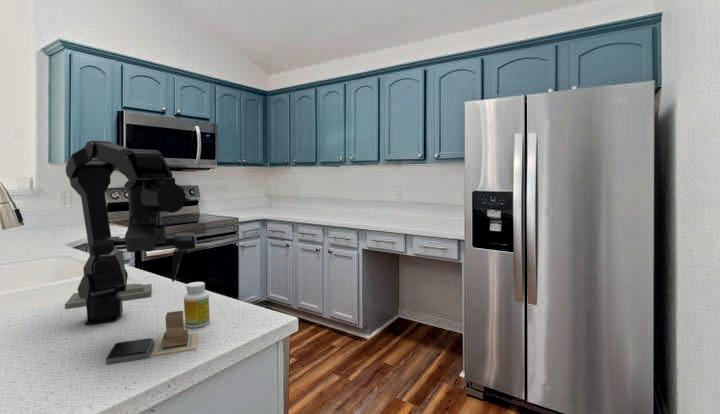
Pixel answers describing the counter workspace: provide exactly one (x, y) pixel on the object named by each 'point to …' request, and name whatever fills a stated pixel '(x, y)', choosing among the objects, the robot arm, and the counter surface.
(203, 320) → the supplement bottle
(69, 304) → the soap mold
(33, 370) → the counter surface
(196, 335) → the card
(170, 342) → the stamp
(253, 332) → the counter surface
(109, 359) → the ink pad
